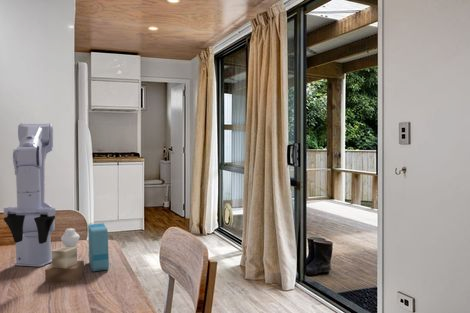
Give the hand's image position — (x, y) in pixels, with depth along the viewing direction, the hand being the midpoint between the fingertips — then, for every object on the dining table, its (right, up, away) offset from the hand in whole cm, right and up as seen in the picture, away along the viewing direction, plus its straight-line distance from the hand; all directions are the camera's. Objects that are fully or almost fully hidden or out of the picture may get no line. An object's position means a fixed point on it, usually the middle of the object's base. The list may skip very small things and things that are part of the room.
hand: (30, 242), depth 109 cm
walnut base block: (+9, -11, +2) cm, 14 cm away
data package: (+14, -10, +12) cm, 21 cm away
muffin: (-4, -10, +36) cm, 38 cm away
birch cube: (+9, -7, +1) cm, 11 cm away
